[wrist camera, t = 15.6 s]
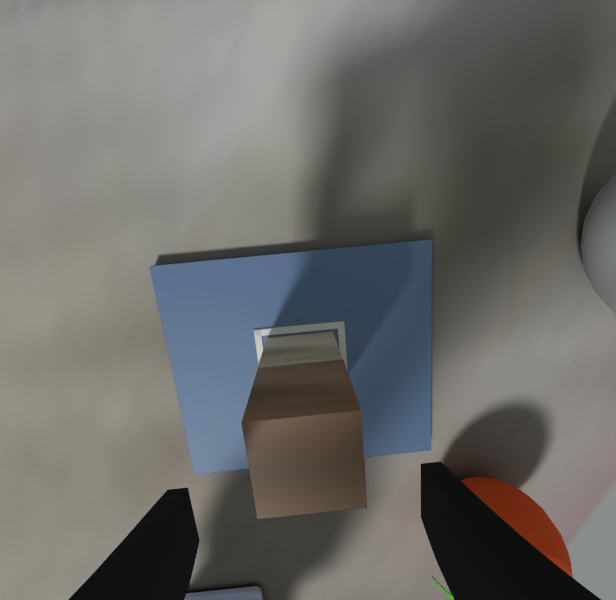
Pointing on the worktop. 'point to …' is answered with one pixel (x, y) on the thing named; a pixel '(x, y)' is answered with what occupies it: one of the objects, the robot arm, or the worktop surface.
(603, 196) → the donut
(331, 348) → the maple block
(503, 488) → the clementine
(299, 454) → the walnut block
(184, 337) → the board
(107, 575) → the robot arm
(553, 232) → the worktop surface
